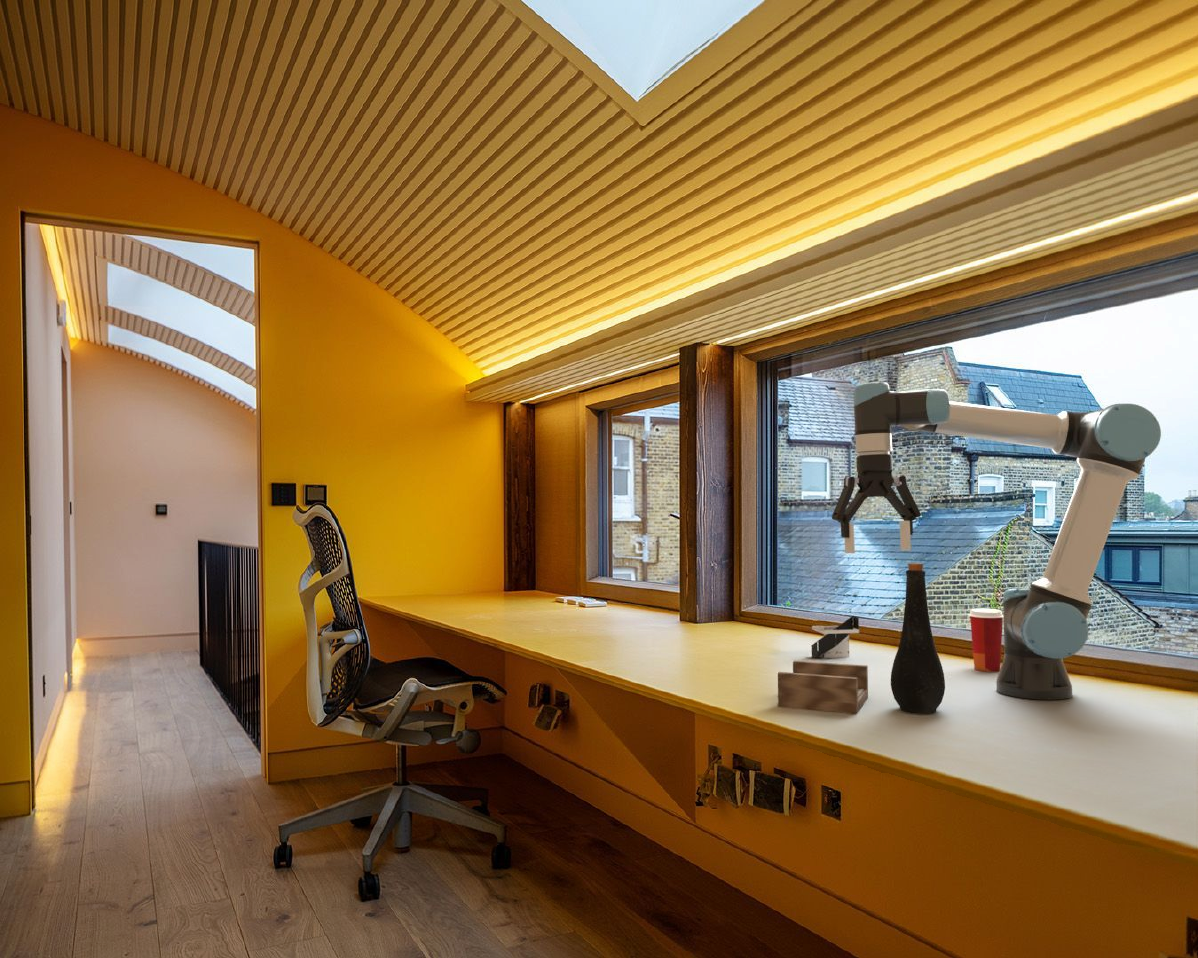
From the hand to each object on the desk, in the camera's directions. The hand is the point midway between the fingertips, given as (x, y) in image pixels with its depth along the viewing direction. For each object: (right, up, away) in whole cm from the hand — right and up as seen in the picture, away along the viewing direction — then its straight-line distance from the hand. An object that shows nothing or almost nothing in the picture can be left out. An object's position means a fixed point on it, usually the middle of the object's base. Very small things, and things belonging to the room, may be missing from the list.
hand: (878, 551), depth 191 cm
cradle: (-13, -32, -3) cm, 34 cm away
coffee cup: (+38, -33, +32) cm, 60 cm away
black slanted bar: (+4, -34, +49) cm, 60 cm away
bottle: (+5, -32, -11) cm, 34 cm away
